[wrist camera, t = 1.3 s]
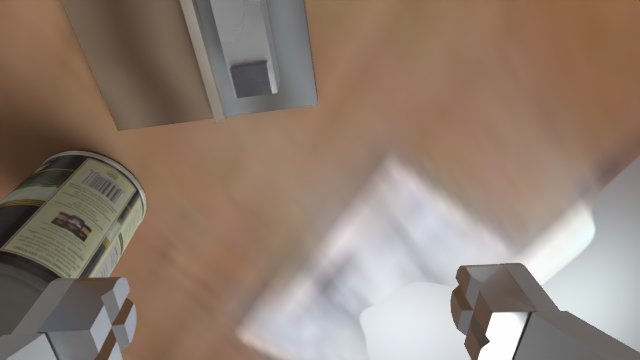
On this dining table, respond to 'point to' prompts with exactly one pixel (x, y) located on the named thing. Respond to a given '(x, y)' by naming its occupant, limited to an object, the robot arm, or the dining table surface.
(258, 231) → the dining table surface
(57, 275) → the coffee can
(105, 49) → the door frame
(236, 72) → the latch bar
